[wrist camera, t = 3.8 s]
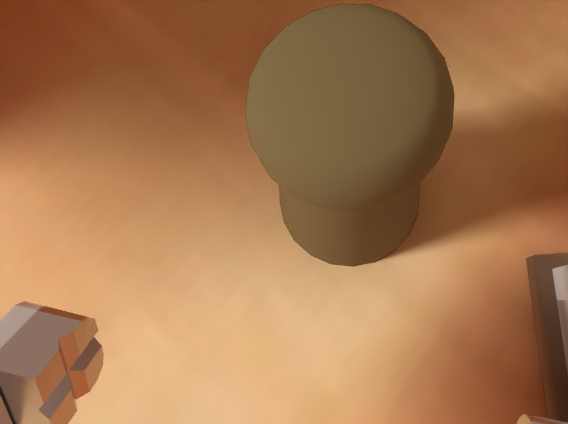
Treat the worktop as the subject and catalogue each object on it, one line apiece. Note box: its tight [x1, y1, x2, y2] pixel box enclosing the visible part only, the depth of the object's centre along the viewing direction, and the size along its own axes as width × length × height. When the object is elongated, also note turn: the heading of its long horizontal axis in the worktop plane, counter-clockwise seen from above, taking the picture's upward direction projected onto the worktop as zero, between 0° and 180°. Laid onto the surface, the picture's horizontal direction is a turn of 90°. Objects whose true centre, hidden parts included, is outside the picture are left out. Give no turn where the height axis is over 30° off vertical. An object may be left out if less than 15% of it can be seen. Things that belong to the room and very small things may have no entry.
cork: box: [245, 4, 454, 266], centre depth 16 cm, size 6×6×11 cm
